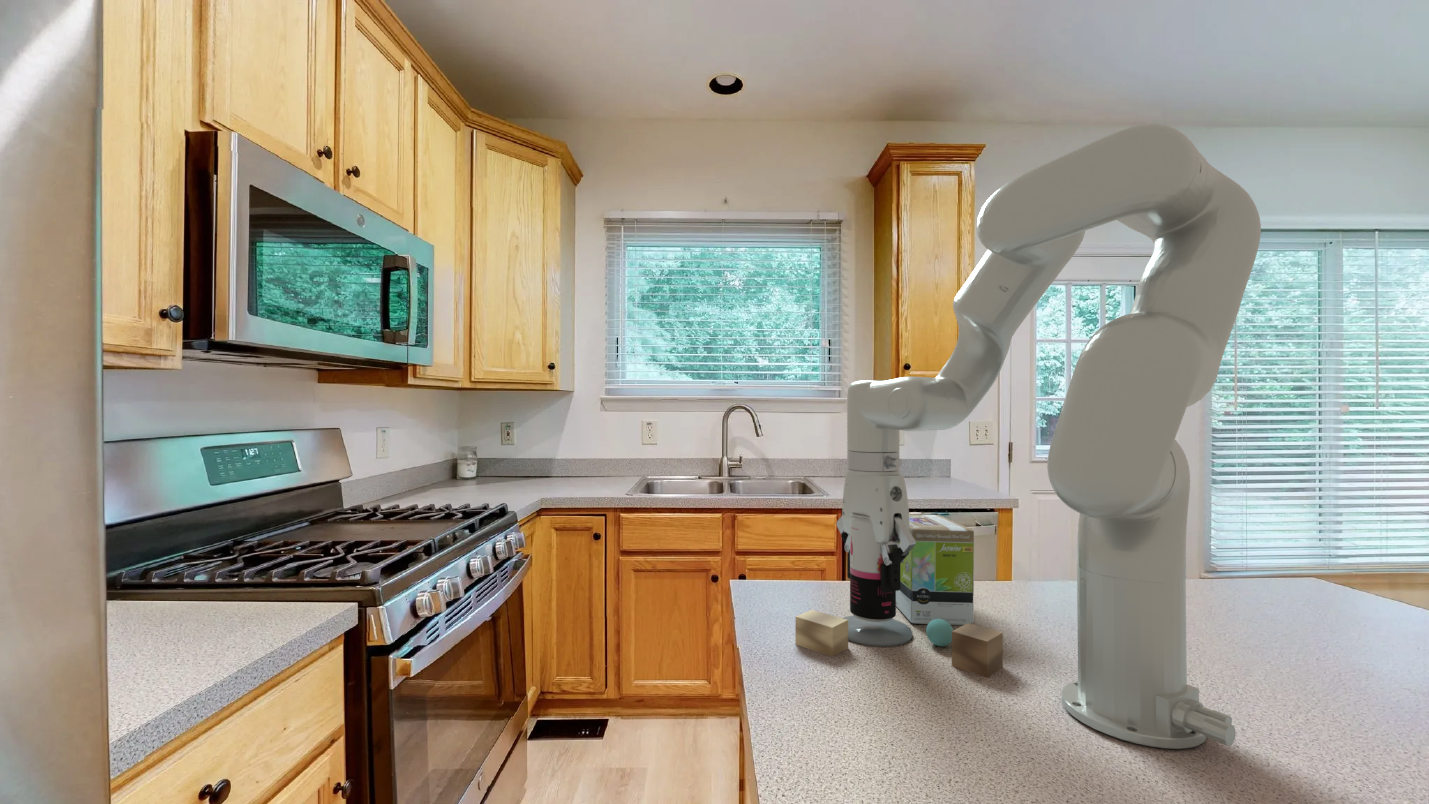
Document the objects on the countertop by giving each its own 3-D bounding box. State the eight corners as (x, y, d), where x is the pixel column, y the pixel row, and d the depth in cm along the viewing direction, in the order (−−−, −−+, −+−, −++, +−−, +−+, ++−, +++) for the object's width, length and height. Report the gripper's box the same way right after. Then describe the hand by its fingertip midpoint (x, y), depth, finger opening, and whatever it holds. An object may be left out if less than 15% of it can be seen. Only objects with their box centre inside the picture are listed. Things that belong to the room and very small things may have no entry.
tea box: (976, 626, 89) (976, 529, 90) (910, 625, 90) (910, 528, 90) (940, 595, 104) (940, 512, 105) (883, 595, 105) (883, 512, 105)
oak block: (848, 649, 81) (848, 619, 81) (832, 657, 78) (832, 627, 78) (811, 637, 85) (811, 609, 85) (795, 645, 82) (795, 616, 82)
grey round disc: (928, 638, 84) (928, 634, 84) (869, 652, 79) (869, 647, 79) (875, 614, 94) (875, 611, 94) (820, 625, 89) (820, 621, 89)
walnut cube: (1002, 668, 75) (1002, 632, 75) (987, 678, 72) (987, 641, 72) (968, 656, 78) (968, 623, 78) (951, 666, 75) (951, 631, 75)
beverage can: (899, 624, 83) (898, 518, 83) (851, 621, 84) (851, 516, 84) (892, 609, 90) (892, 510, 90) (848, 606, 91) (848, 509, 91)
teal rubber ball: (959, 647, 81) (959, 621, 81) (940, 652, 79) (940, 625, 80) (939, 638, 84) (939, 613, 84) (920, 643, 83) (920, 617, 83)
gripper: (937, 467, 81) (937, 597, 81) (854, 458, 97) (854, 567, 96) (895, 469, 78) (896, 605, 77) (817, 459, 93) (817, 572, 93)
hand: (873, 583), depth 87 cm, fingers closed on beverage can, 6 cm apart
